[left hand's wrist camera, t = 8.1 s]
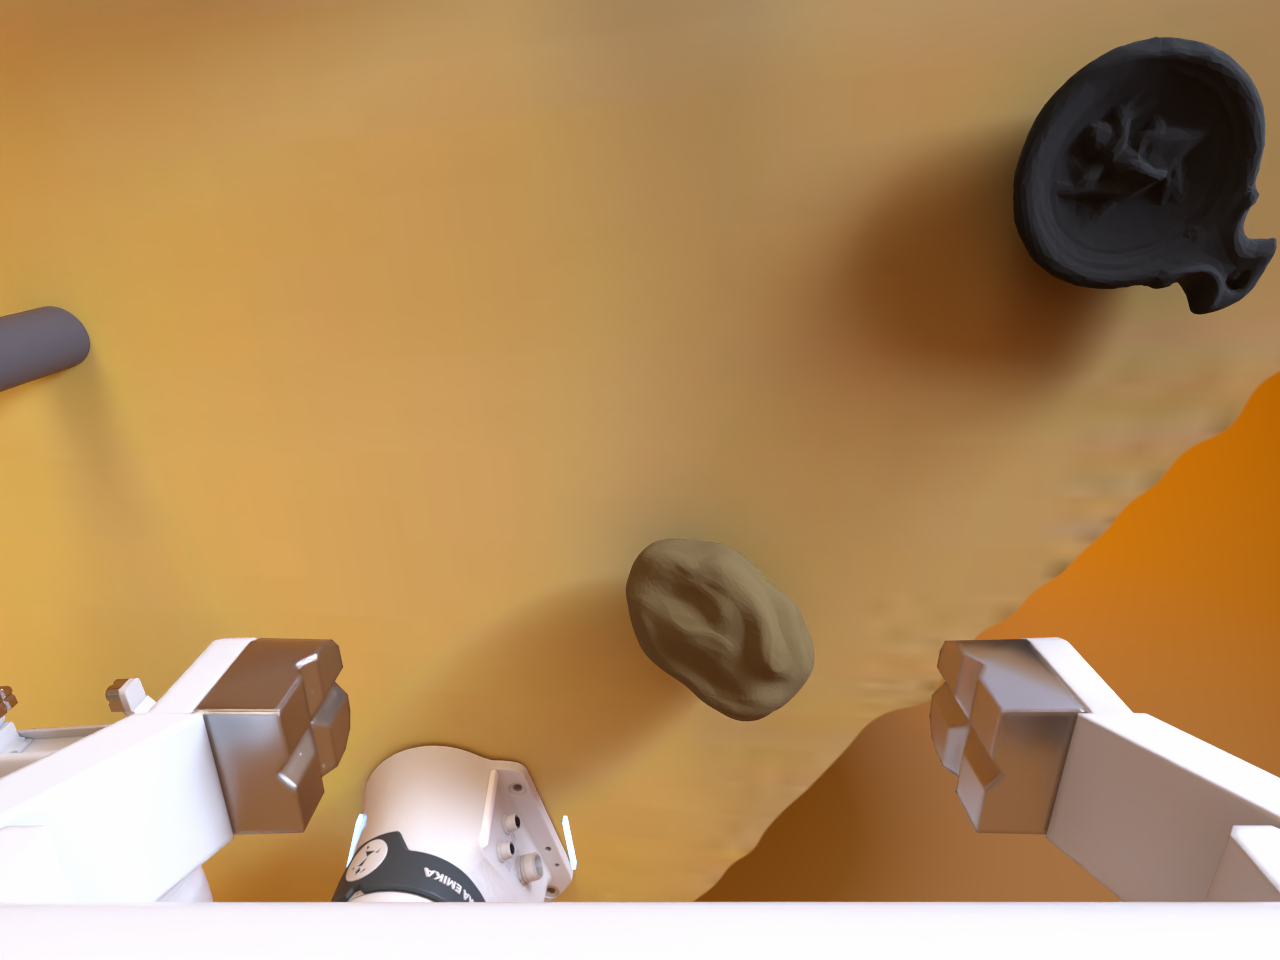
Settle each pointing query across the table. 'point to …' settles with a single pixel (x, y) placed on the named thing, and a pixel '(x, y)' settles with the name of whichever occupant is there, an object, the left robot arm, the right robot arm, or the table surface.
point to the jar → (39, 345)
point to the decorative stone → (719, 627)
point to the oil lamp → (1147, 174)
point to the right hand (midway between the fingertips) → (55, 687)
